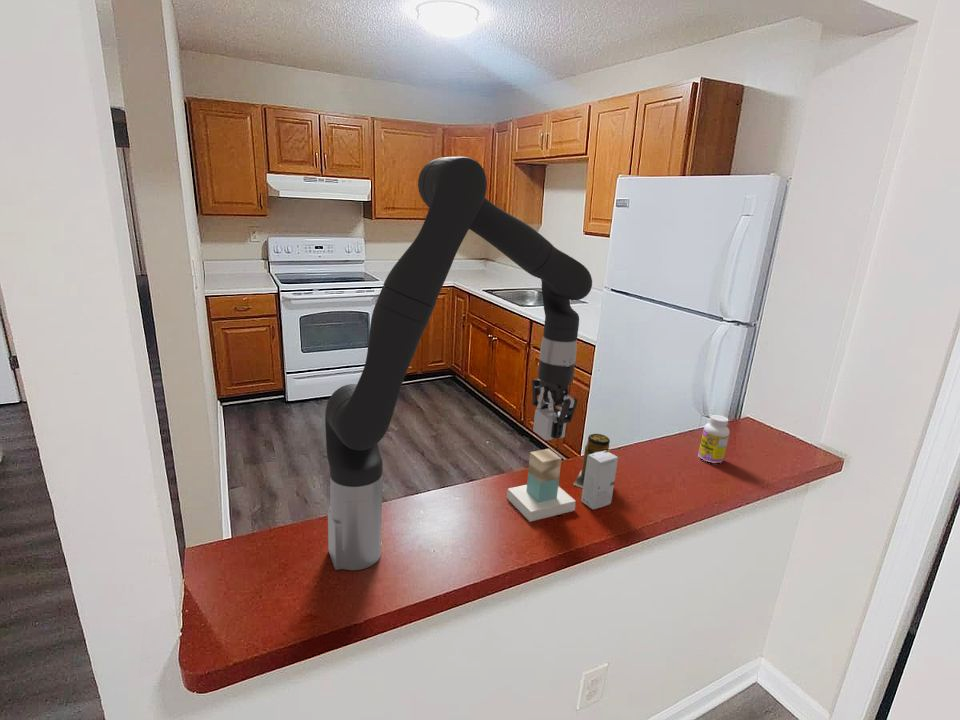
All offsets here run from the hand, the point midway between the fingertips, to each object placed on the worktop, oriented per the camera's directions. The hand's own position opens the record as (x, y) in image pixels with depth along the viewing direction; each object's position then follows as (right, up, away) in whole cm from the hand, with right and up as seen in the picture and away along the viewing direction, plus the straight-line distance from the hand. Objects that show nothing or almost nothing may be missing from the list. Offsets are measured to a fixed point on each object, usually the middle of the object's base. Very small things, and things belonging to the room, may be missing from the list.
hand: (548, 432), depth 116 cm
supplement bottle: (+50, -13, +34) cm, 62 cm away
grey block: (0, 0, 0) cm, 0 cm away
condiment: (+13, -15, +17) cm, 26 cm away
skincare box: (+12, -18, +8) cm, 23 cm away
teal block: (-1, -15, +5) cm, 16 cm away
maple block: (-1, -10, +3) cm, 11 cm away
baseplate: (-1, -17, +5) cm, 18 cm away
